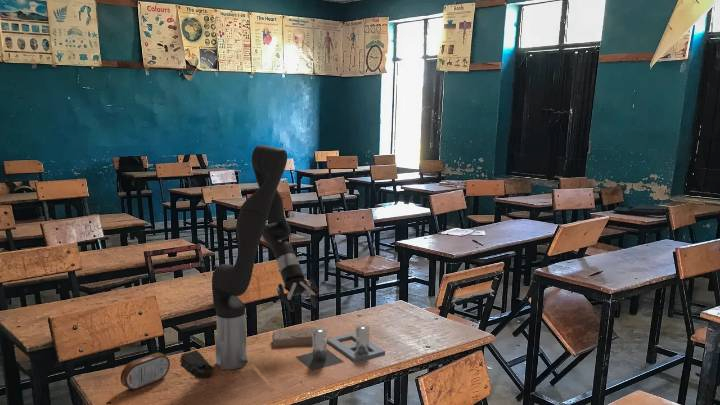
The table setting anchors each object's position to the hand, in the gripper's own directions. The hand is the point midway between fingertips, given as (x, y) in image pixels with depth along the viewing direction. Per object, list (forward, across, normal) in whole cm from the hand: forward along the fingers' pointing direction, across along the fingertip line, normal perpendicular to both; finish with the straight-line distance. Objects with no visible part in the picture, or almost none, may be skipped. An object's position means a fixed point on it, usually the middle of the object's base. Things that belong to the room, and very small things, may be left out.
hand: (304, 308), depth 185 cm
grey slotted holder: (+17, +15, +4) cm, 23 cm away
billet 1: (+18, 0, +2) cm, 18 cm away
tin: (+8, -52, +14) cm, 54 cm away
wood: (+5, -36, +17) cm, 40 cm away
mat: (+18, 0, +3) cm, 19 cm away
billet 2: (+20, +15, +1) cm, 25 cm away
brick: (+6, 0, +16) cm, 17 cm away
